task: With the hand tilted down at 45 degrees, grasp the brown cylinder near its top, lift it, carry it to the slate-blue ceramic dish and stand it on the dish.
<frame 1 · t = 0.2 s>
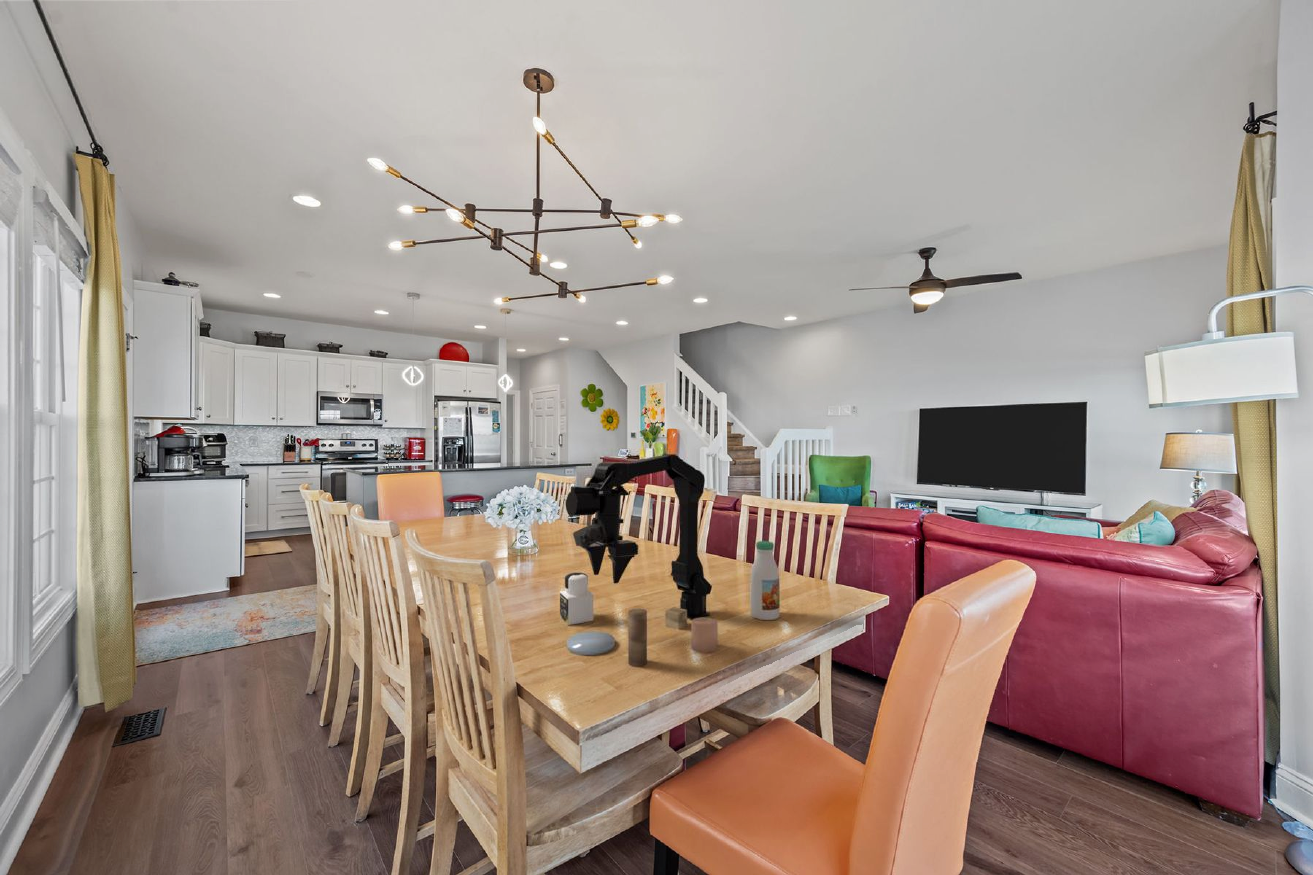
hand: (605, 578, 127), 14 cm above the table, tool pointing down, fingers open, 9 cm apart
oak block: (676, 625, 135), on the table
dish: (590, 645, 122), on the table
brown cylinder: (637, 662, 113), on the table
milk bottle: (764, 616, 142), on the table
medicine bottle: (576, 619, 140), on the table
short mauve cylinder: (704, 647, 121), on the table
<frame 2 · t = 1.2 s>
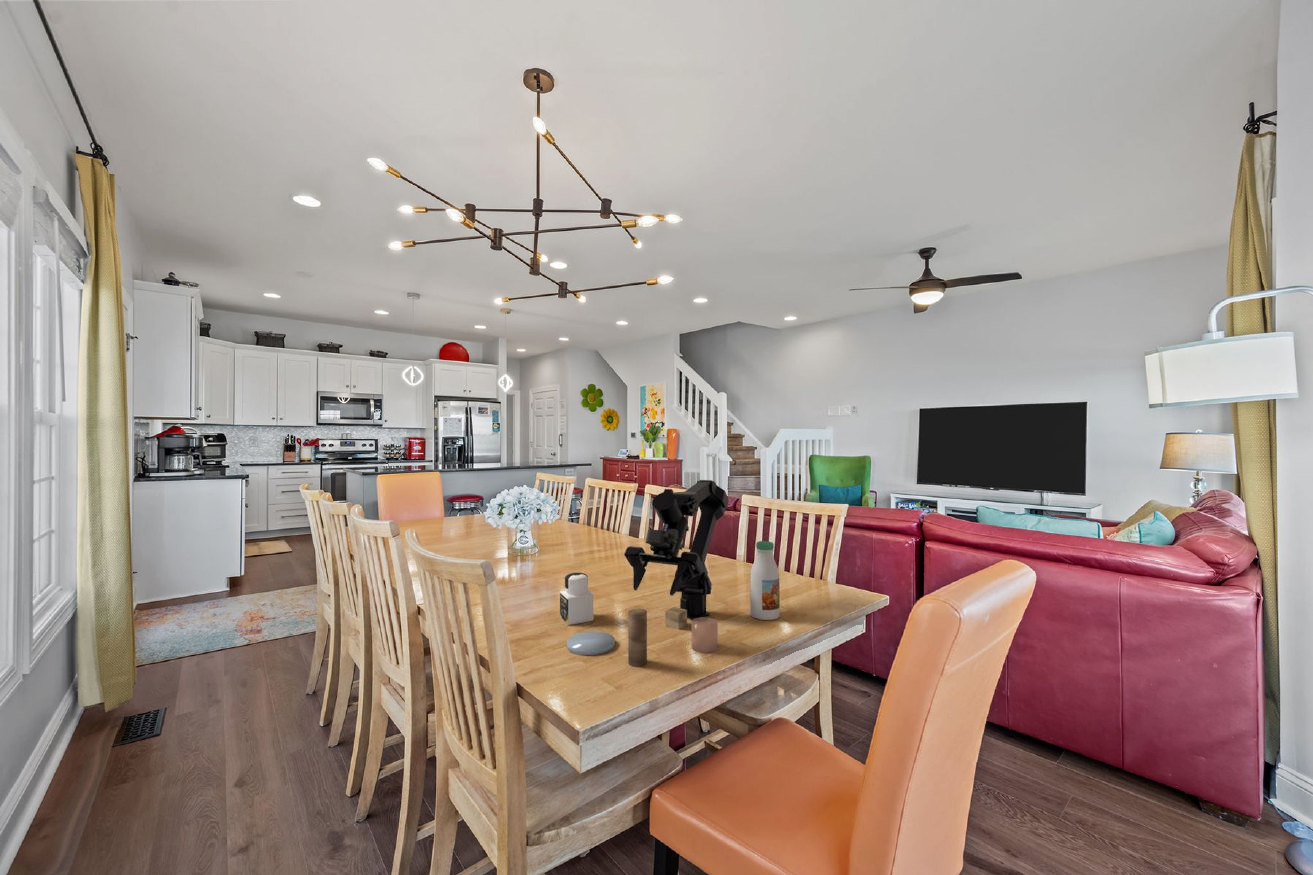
hand: (652, 592, 120), 13 cm above the table, tool tilted 45°, fingers open, 9 cm apart
nothing on the table moved.
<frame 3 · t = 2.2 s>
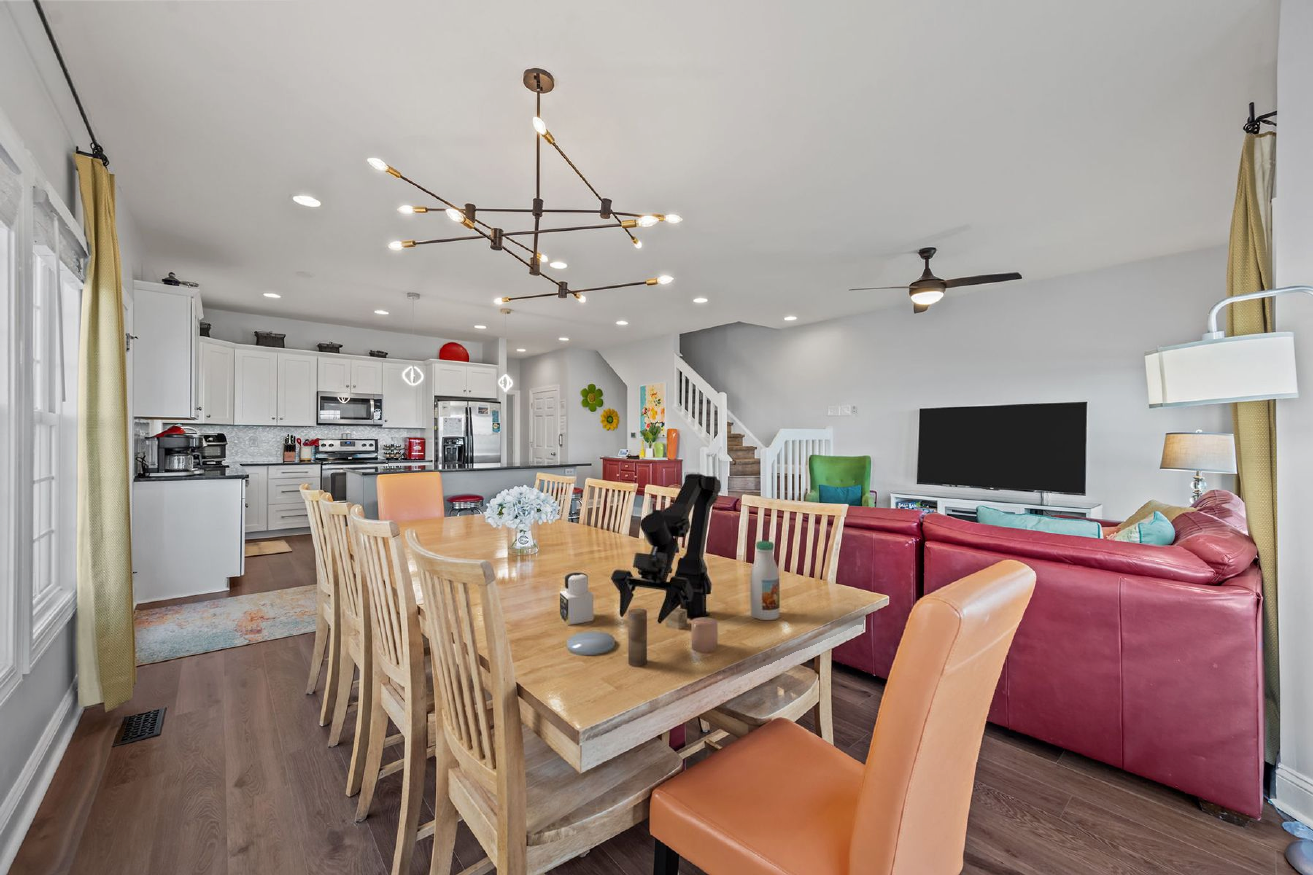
hand: (639, 619, 114), 9 cm above the table, tool tilted 45°, fingers open, 9 cm apart
nothing on the table moved.
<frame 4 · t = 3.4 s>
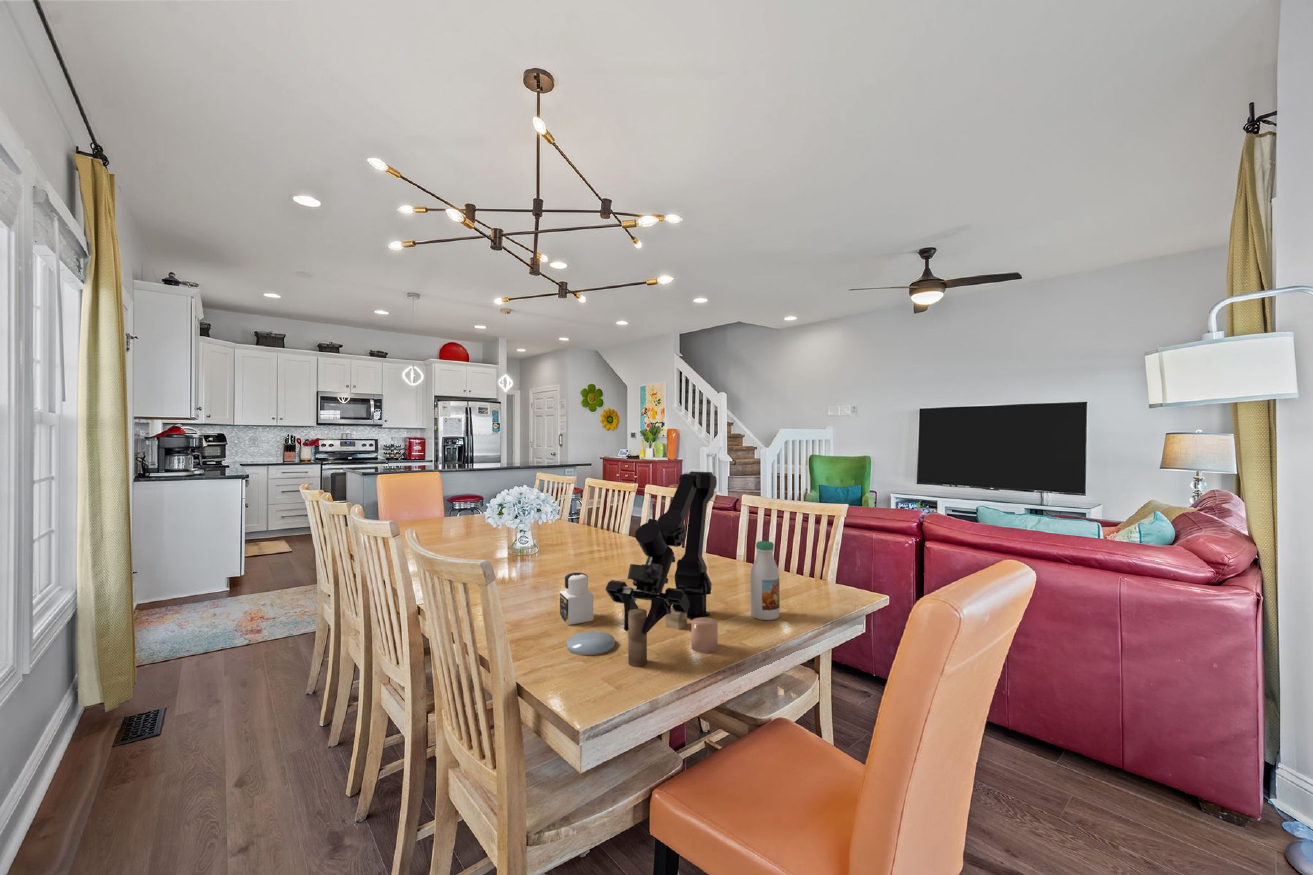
hand: (634, 631, 112), 7 cm above the table, tool tilted 45°, fingers closed on brown cylinder, 4 cm apart
brown cylinder: (637, 662, 113), on the table, touching gripper
everything else where it was.
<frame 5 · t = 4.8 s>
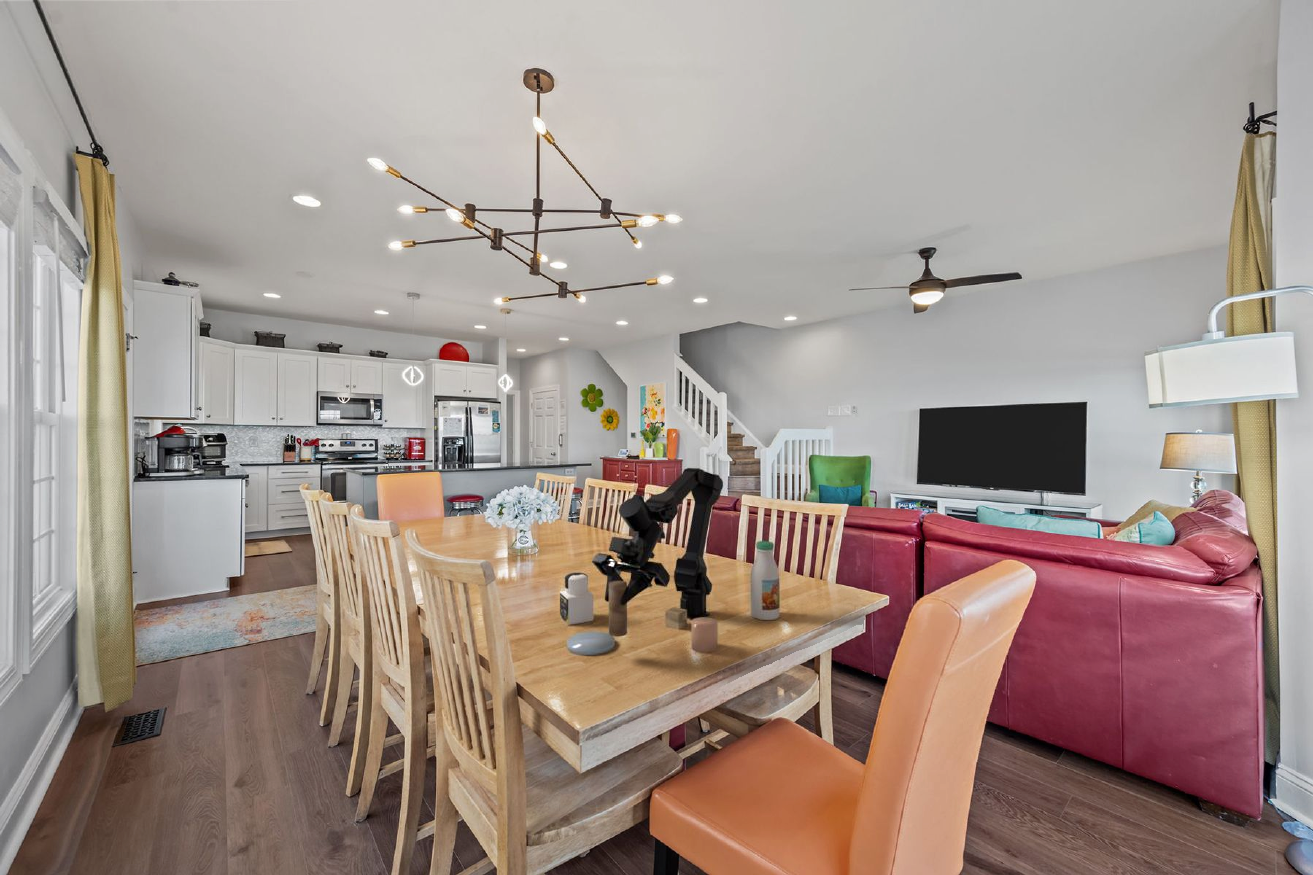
hand: (613, 602, 115), 12 cm above the table, tool tilted 45°, fingers closed on brown cylinder, 4 cm apart
brown cylinder: (618, 632, 116), point 5 cm above the table, touching gripper
everything else where it was.
when the fingers open (9 cm above the table, at t = 6.4 s): brown cylinder stays where it is, resting on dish.
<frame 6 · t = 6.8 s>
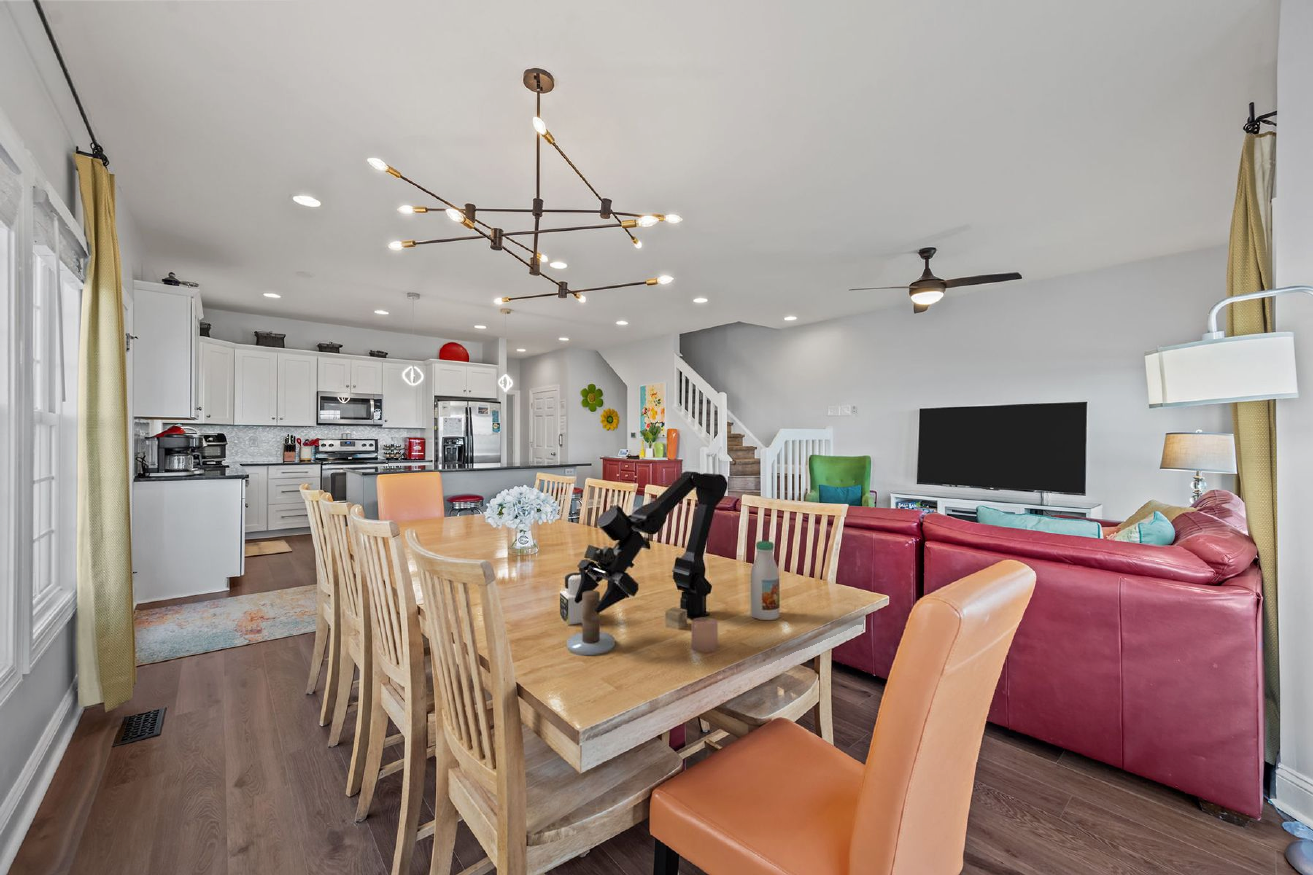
hand: (585, 607, 121), 9 cm above the table, tool tilted 45°, fingers open, 9 cm apart
brown cylinder: (591, 640, 122), point 1 cm above the table, touching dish
everything else where it was.
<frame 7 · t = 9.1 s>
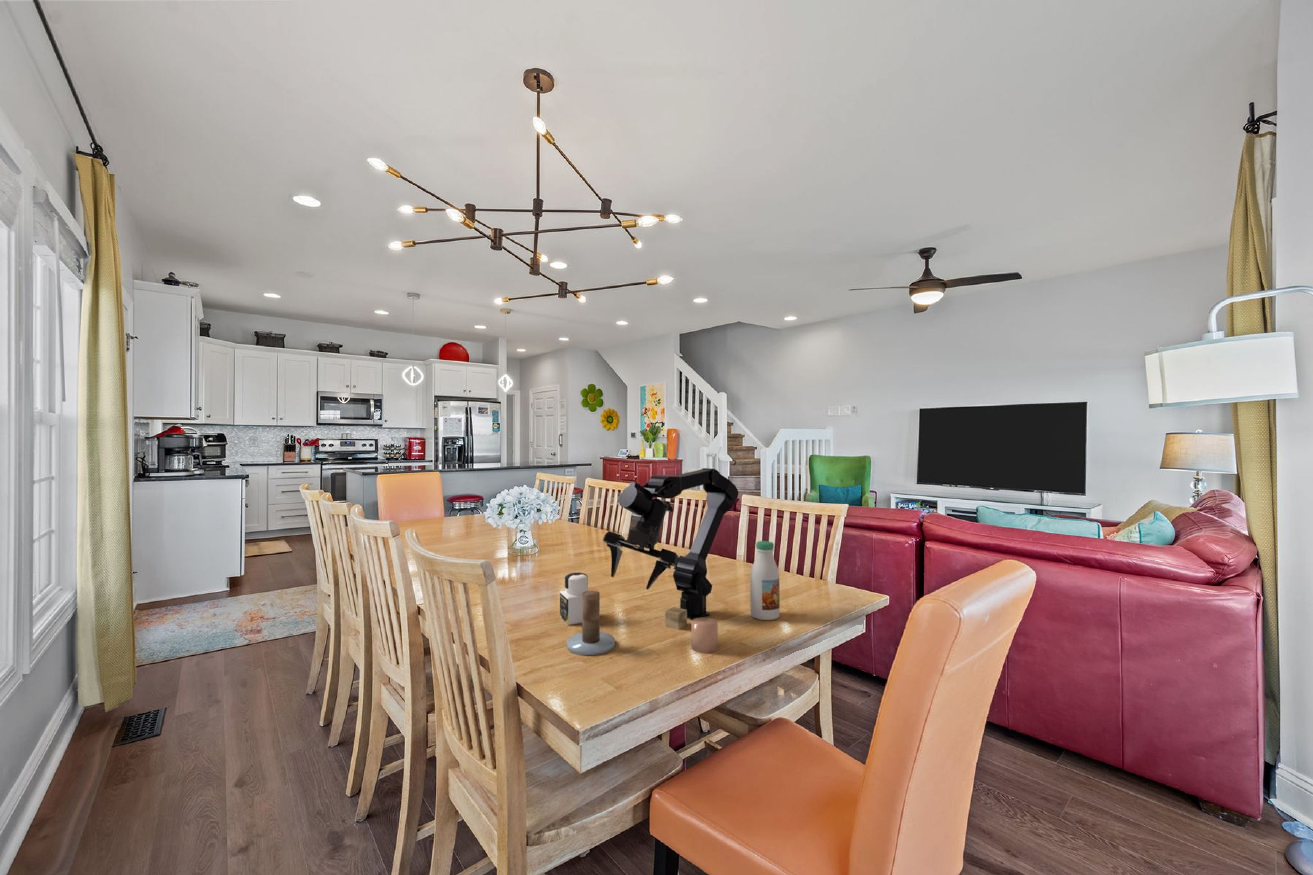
hand: (629, 583, 127), 13 cm above the table, tool tilted 25°, fingers open, 9 cm apart
nothing on the table moved.
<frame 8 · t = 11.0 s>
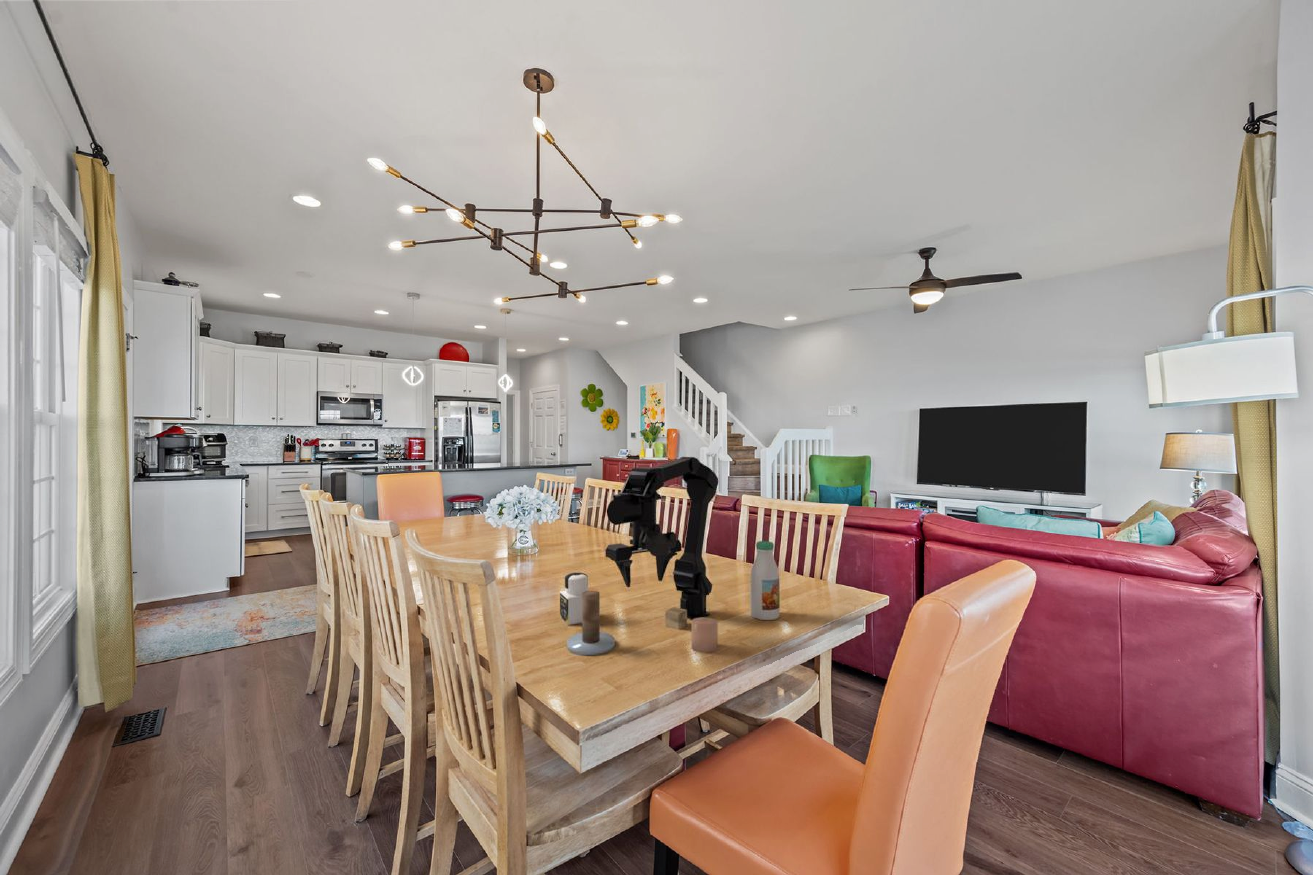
hand: (644, 583, 127), 13 cm above the table, tool pointing down, fingers open, 9 cm apart
nothing on the table moved.
at the end: brown cylinder 0.0 cm from the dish (horizontally); brown cylinder tilted 0°; the gripper is holding nothing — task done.
